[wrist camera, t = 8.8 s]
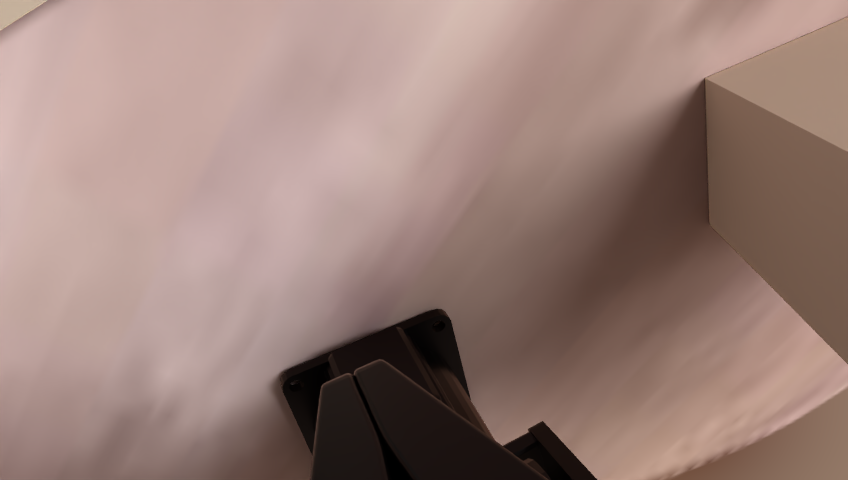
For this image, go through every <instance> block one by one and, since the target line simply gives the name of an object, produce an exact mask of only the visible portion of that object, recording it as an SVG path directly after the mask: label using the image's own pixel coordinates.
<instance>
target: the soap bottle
mask: <svg viewBox="0 0 848 480" xmlns="http://www.w3.org/2000/svg"><path fill="white" fill-rule="evenodd" d="M705 92H706V127H707V162H708V197H709V225H710V226H711V227H712V228H713V229H714V230H715V231H716V232H717V233H718V234H719V235H720V236H721V237H722V238H723V239H724V240H725V241H726V242H727V243H728V244H729V245H730V246H731V247H732V248H733V249H734V250H735V251H736V252H737V253H738V254H739V255H740V256H741V257H742V258H743V259H744V260H745V261H746V262H747V263H748V264H749V265H750V266H751V267H752V268H753V269H754V270H755V271H756V272H757V273H758V274H759V275H760V276H761V277H762V278H763V279H764V280H765V281H766V282H767V283H768V284H769V285H770V286H771V287H772V288H773V289H774V290H775V291H776V292H777V293H778V294H779V295H780V296H781V297H782V298H783V299H784V300H785V301H786V302H787V303H788V304H789V305H790V306H791V307H792V308H793V309H794V310H795V311H796V312H797V313H798V314H799V315H800V316H801V317H802V318H803V319H804V320H805V321H806V323H807V324H808V325H809V326H810V327H811V328H812V329H813V330H814V331H815V332H816V333H817V334H818V335H819V336H820V337H821V338H822V339H823V340H824V341H825V342H826V343H827V344H828V345H829V346H830V347H831V348H832V349H833V350H834V351H835V352H836V353H837V354H838V355H839V356H840V357H841V358H842V359H843V360H844V361H845V362H846V363H847V364H848V17H846V18H844V19H842V20H839V21H837V22H835V23H832V24H830V25H828V26H825V27H823V28H821V29H818V30H816V31H814V32H811V33H809V34H807V35H804V36H802V37H800V38H797V39H795V40H793V41H790V42H788V43H786V44H783V45H781V46H779V47H776V48H774V49H772V50H769V51H767V52H765V53H763V54H760V55H758V56H756V57H753V58H751V59H749V60H746V61H744V62H742V63H739V64H737V65H735V66H732V67H730V68H728V69H725V70H723V71H721V72H718V73H716V74H714V75H711V76H709V77H707V78H705Z"/></svg>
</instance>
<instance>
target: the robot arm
mask: <svg viewBox="0 0 848 480" xmlns="http://www.w3.org/2000/svg"><path fill="white" fill-rule="evenodd" d="M437 321H440V323H439V324H438V325H436V326H433V324H434V323H435V322H437ZM296 380H300V382H299V383H297V384H294V385H292V384H291V383H292V382H293V381H296ZM280 382H281V386H282V390H283V393H284V395H285V397H286V399H287V401H288V404H289V406H290V408H291V410H292V412H293V414H294V417H295V419H296V421H297V423H298V425H299V427H300V430H301V432H302V434H303V436H304V438H305V440H306V443H307V445H308V447H309V449H310V451H311V453H312V456H313V457H312V465H311V473H310V480H597V479H596V478H595V477H594V476H593V475H592V474H591V472H590V471H589V470H588V469H587V468H586V467H585V466H584V465H583V464H582V463H581V462H580V461H579V460H578V458H577V457H576V456H575V455H574V454H573V453H572V452H571V451H570V450H569V449H568V448H567V447H566V446H565V444H564V443H563V442H562V441H561V440H560V439H559V438H558V437H557V436H556V435H555V434H554V433H553V432H552V430H551V429H550V428H549V427H548V426H547V425H546V424H545V423H544V422H543V421H542V422H540V423H538V424H537V425H535V426H533V427H531V428H529V429H528V431H529V432H528V433H526V434H524V435H522V436H520V437H518V438H517V439H515V440H513V441H511V442H509V443H507V444H505V445H503V446H502V445H500V444H499V443H498V442H496V441H495V439H494V438H493V436H492V434H491V433H490V431H489V430H488V428H487V426H486V425H485V423H484V421H483V420H482V418H481V416H480V415H479V413H478V412H477V410H476V408H475V407H474V405H473V403H472V402H471V399H470V395H469V391H468V387H467V383H466V379H465V375H464V371H463V367H462V363H461V359H460V355H459V351H458V347H457V343H456V339H455V335H454V331H453V327H452V323H451V320H450V318H449V317H448V315H447V314H446V312H445V311H443V310H442V309H435V310H431V311H429V312H426V313H424V314H422V315H419V316H417V317H414V318H412V319H409V320H407V321H405V322H402V323H400V324H397V325H395V326H393V327H390V328H388V329H385V330H383V331H380V332H378V333H376V334H373V335H371V336H368V337H366V338H364V339H361V340H359V341H356V342H354V343H352V344H349V345H347V346H344V347H342V348H339V349H337V350H335V351H332V352H330V353H327V354H325V355H323V356H320V357H318V358H315V359H313V360H310V361H308V362H306V363H303V364H301V365H298V366H296V367H294V368H291V369H289V370H287V371H286V372H285V373H284V374H283V375H282V377H281V380H280Z"/></svg>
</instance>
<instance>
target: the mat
mask: <svg viewBox="0 0 848 480" xmlns="http://www.w3.org/2000/svg"><path fill="white" fill-rule="evenodd" d="M46 1H47V0H0V31H1V30H2V29H4V28H5V27H7V26H8V25H10V24H12V23H13V22H15V21H16V20H18V19H19V18H21V17H22V16H24V15H26V14H27V13H29V12H30V11H32V10H33V9H35V8H36V7H38V6H40V5H41V4H43V3H44V2H46Z"/></svg>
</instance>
